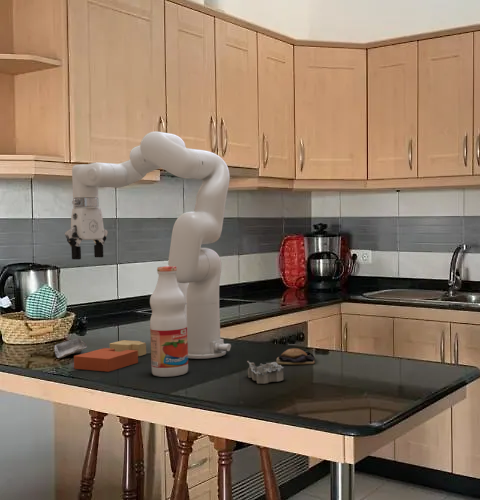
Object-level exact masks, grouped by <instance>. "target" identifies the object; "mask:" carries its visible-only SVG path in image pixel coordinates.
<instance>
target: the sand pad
mask: <svg viewBox="0 0 480 500" xmlns="http://www.w3.org/2000/svg"><path fill="white" fill-rule="evenodd" d="M109 348H111V349H115V351H117V352H121V351H124V350H137V351H138V357H142V356H145V355H147V343H146V342H142V341H141V340H140V341H139V340H125V339H121V340H118V341H114V342H111V343H109Z"/></svg>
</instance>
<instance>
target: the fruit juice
mask: <svg viewBox="0 0 480 500" xmlns="http://www.w3.org/2000/svg"><path fill="white" fill-rule="evenodd" d="M176 271H177V268H176V266H167V265H164V266H158V267H157V268H156V273H157V274H158V277H157V282H156V286H155V288H154V289H153V292H152V293H151V295H150V297H149V305H150V310H151V316H150V318H149V319H150V320H149V333H150V334H149V335H150V337H149V338H150V363H151V364H150V365H151V366H150V367H151V374H152V375H153V376H155V377H159V378H160V377H161V378H171V377H177V376H183V375H186V374H187V373H188V372H189V358H188V340H187V318H186V315H185V312H184V308H185V304H186V298H185V295H184V293H183V292H182V290H181V289H180V287H179V285H178V282H177V279H176Z"/></svg>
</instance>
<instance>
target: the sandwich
mask: <svg viewBox="0 0 480 500" xmlns="http://www.w3.org/2000/svg"><path fill="white" fill-rule="evenodd" d="M275 362H276V363H277V364H278V365H282V366H283V365H291V366H292V365H303V366H304V365H315V363H316V361H315V356H314V354H313V353H311V352H310V351H304V350H302V349H300V348H295V347H294V348H288V349H286V350H284V351H282V353H281V354H280V356H278V357H276V361H275Z"/></svg>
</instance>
